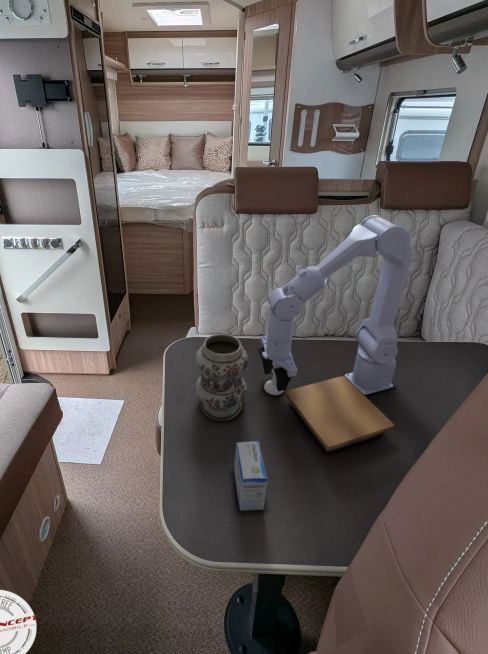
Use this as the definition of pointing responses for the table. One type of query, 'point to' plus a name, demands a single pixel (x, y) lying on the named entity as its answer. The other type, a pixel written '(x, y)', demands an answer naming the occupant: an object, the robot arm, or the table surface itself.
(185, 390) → the table surface
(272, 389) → the chess piece
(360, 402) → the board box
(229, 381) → the apothecary jar
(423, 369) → the table surface
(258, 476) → the medicine box
